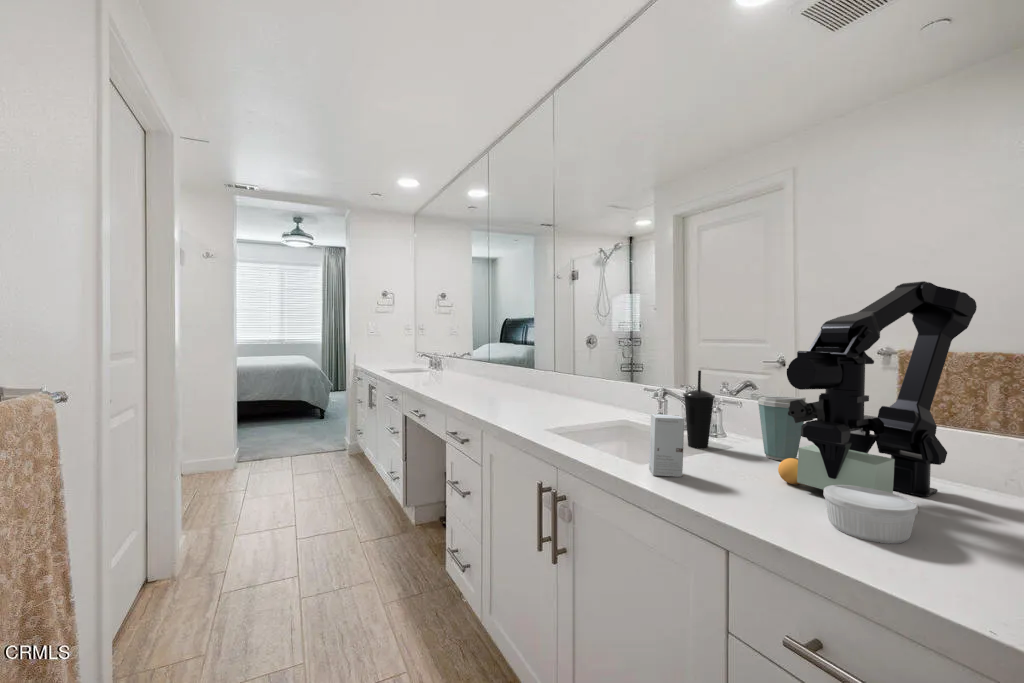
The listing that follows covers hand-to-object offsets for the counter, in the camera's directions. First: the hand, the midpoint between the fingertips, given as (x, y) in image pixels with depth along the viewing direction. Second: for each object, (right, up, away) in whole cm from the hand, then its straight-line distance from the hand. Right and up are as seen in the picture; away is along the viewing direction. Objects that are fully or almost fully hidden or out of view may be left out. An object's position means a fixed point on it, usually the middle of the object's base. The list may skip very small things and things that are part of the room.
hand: (842, 474), depth 82 cm
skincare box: (-28, -4, +13) cm, 31 cm away
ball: (-5, -1, +7) cm, 9 cm away
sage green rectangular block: (0, -3, 0) cm, 3 cm away
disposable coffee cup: (+5, -4, +27) cm, 28 cm away
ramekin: (-7, -5, -14) cm, 16 cm away
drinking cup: (-11, -4, +37) cm, 39 cm away
